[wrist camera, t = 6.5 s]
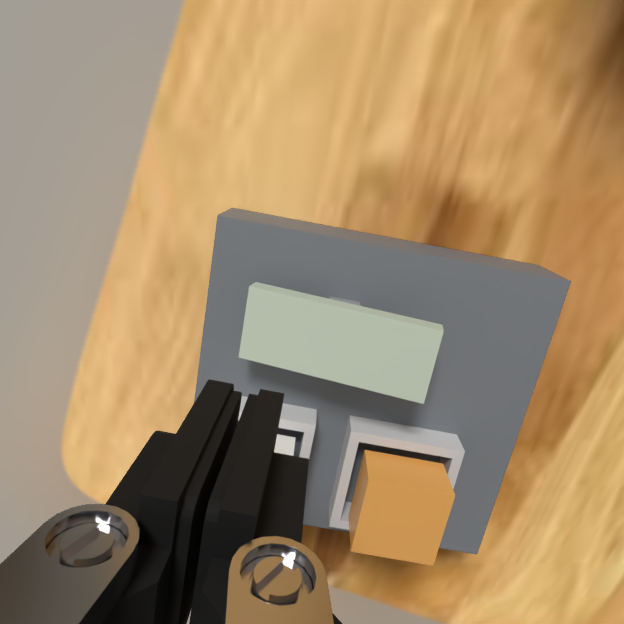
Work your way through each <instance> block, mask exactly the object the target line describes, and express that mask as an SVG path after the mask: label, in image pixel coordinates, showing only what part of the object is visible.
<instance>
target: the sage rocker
mask: <svg viewBox="0 0 624 624" xmlns="http://www.w3.org/2000/svg"><path fill="white" fill-rule="evenodd" d="M443 332H444V330H443V325H442V324H437V323H433V322H429V321H424V320H420V319H416V318H411V317H407V316H402V315H398V314H394V313H389V312H385V311H381V310H376V309H372V308H368V307H363V306H359V305H355V304H350V303H346V302H341V301H337V300H333V299H328V298H324V297H320V296H315V295H311V294H307V293H302V292H298V291H293V290H289V289H285V288H280V287H276V286H272V285H267V284H263V283H259V282H255V283H253V284H252V285H250V286H249V291H248V297H247V304H246V311H245V317H244V324H243V331H242V337H241V344H240V351H239V358H243V359H247V360H251V361H255V362H259V363H263V364H267V365H271V366H275V367H279V368H283V369H287V370H291V371H294V372H298V373H302V374H306V375H310V376H314V377H318V378H322V379H326V380H330V381H334V382H338V383H342V384H346V385H350V386H354V387H358V388H362V389H366V390H370V391H374V392H378V393H382V394H386V395H390V396H394V397H398V398H402V399H406V400H410V401H414V402H418V403H421V404H424V401H425V398H426V394H427V390H428V387H429V383H430V379H431V376H432V372H433V369H434V365H435V361H436V358H437V354H438V350H439V347H440V343H441V340H442V336H443Z"/></svg>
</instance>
